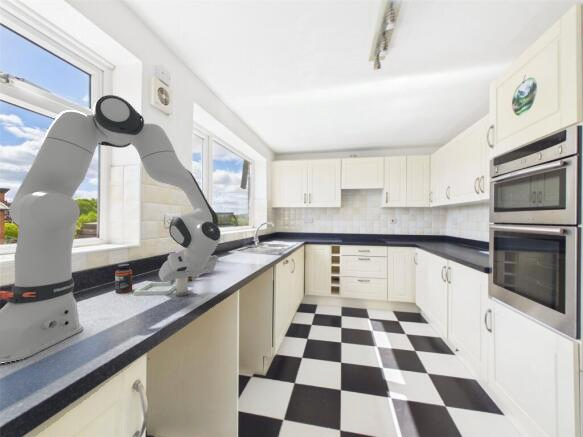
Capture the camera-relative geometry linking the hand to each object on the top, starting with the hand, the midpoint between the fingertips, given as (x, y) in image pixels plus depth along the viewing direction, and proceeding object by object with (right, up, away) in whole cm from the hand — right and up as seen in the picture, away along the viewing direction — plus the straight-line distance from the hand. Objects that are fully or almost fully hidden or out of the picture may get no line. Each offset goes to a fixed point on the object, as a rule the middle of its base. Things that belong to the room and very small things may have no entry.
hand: (182, 280), depth 97 cm
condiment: (-9, -7, +23) cm, 26 cm away
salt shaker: (-1, -6, 0) cm, 6 cm away
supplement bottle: (-28, -7, +7) cm, 30 cm away
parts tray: (-13, -7, +7) cm, 16 cm away
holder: (-1, -7, 0) cm, 7 cm away
